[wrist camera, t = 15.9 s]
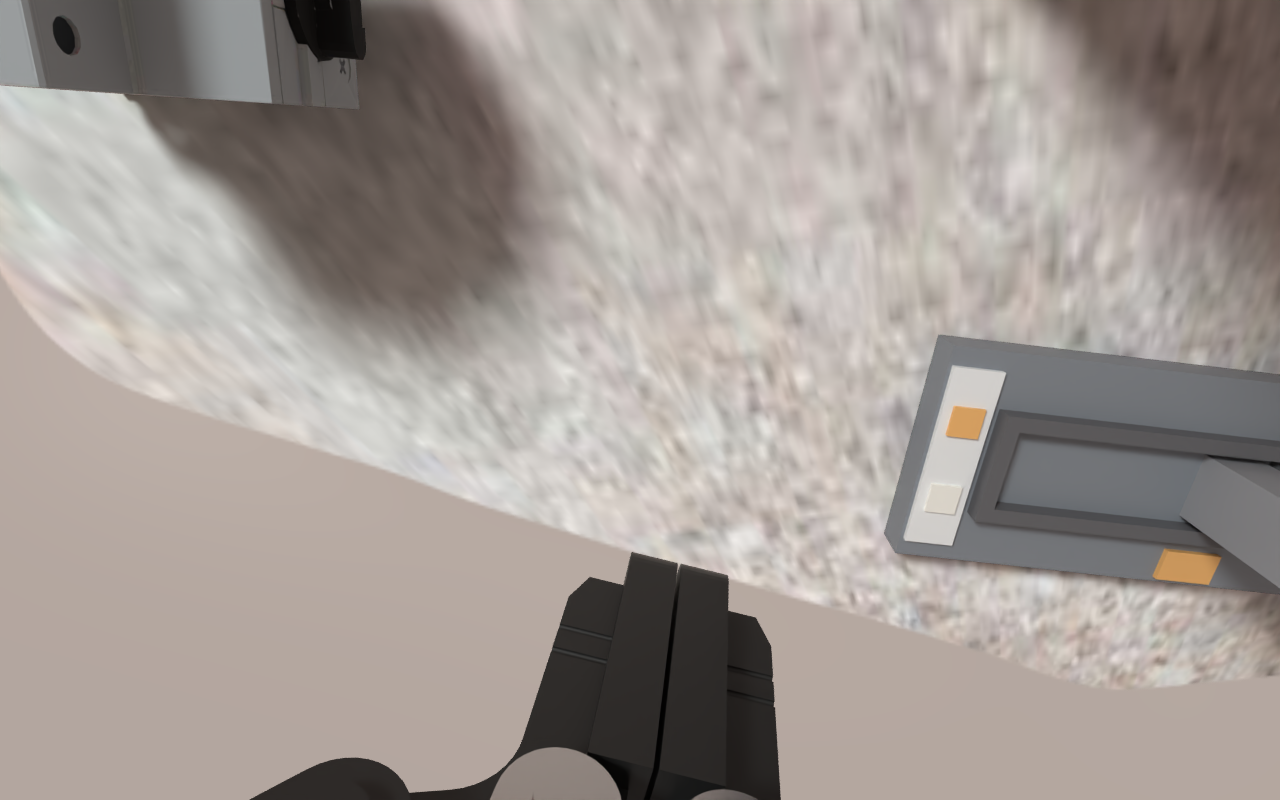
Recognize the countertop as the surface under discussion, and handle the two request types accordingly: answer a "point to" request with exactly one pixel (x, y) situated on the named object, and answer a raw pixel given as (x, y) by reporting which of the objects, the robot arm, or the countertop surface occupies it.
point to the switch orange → (1239, 510)
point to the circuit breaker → (187, 48)
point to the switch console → (1076, 461)
